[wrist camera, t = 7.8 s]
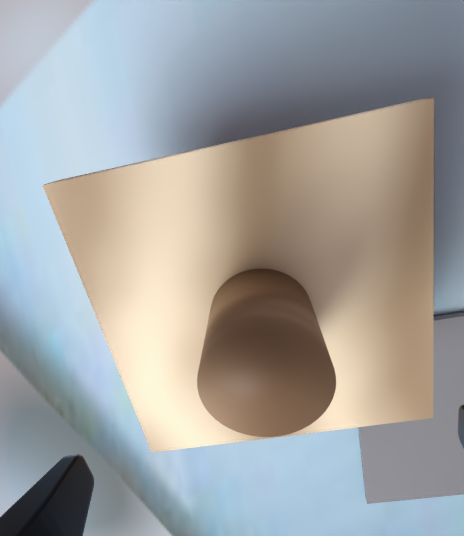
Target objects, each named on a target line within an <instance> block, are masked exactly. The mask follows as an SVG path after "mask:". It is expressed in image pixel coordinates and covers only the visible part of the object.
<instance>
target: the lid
mask: <svg viewBox="0 0 464 536" xmlns="http://www.w3.org/2000/svg"><path fill="white" fill-rule="evenodd" d="M43 187H44V190H45V192H46V195H47V197H48V200H49V202H50V205H51V207H52V209H53V212H54V214H55V217H56V219H57V222H58V224H59V226H60V229H61V231H62V234H63V236H64V239H65V241H66V244H67V246H68V248H69V251H70V253H71V256H72V258H73V261H74V263H75V266H76V268H77V270H78V273H79V275H80V278H81V280H82V283H83V285H84V287H85V290H86V292H87V295H88V297H89V300H90V302H91V305H92V307H93V309H94V312H95V314H96V317H97V319H98V322H99V324H100V326H101V329H102V331H103V334H104V336H105V339H106V341H107V344H108V346H109V348H110V351H111V353H112V356H113V358H114V361H115V363H116V366H117V368H118V370H119V373H120V375H121V378H122V380H123V383H124V385H125V387H126V390H127V392H128V395H129V397H130V400H131V402H132V405H133V407H134V409H135V412H136V414H137V417H138V419H139V422H140V424H141V427H142V429H143V431H144V434H145V436H146V439H147V441H148V444H149V446H150V448H151V451H152V452H160V451H168V450H176V449H184V448H192V447H200V446H209V445H217V444H225V443H233V442H241V441H250V440H258V439H266V438H274V437H282V436H290V435H299V434H307V433H315V432H323V431H331V430H339V429H348V428H356V427H364V426H372V425H380V424H389V423H397V422H405V421H413V420H421V419H429V418H433V310H434V98H427V99H419V100H415V101H410V102H406V103H401V104H397V105H392V106H388V107H383V108H379V109H374V110H370V111H366V112H361V113H357V114H352V115H348V116H343V117H339V118H334V119H330V120H325V121H321V122H316V123H312V124H308V125H303V126H299V127H294V128H290V129H285V130H281V131H276V132H272V133H267V134H263V135H259V136H254V137H250V138H245V139H241V140H236V141H232V142H227V143H223V144H218V145H214V146H209V147H205V148H201V149H196V150H192V151H187V152H183V153H178V154H174V155H169V156H165V157H160V158H156V159H151V160H147V161H143V162H138V163H134V164H129V165H125V166H120V167H116V168H111V169H107V170H102V171H98V172H93V173H89V174H85V175H80V176H76V177H71V178H67V179H62V180H58V181H54V182H51V183H48V184H45V185H43Z"/></svg>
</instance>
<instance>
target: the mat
mask: <svg viewBox="0 0 464 536" xmlns="http://www.w3.org/2000/svg"><path fill="white" fill-rule="evenodd" d="M461 405H464V312H460V313H453V314H447V315H441V316H434V317H433V418H429V419H421V420H413V421H405V422H397V423H389V424H380V425H372V426H364V427H358V429H359V439H360V448H361V458H362V467H363V477H364V486H365V496H366V501H367V504H369V503H380V502H390V501H400V500H410V499H420V498H431V497H441V496H451V495H461V494H464V449H463V447H462V445H461V442H460V440H459V436H458V410H459V407H460V406H461Z"/></svg>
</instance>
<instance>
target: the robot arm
mask: <svg viewBox="0 0 464 536" xmlns="http://www.w3.org/2000/svg"><path fill="white" fill-rule="evenodd" d="M458 436H459V440H460V442H461V445H462V447H463V449H464V405H461V406H460V407H459V410H458ZM93 487H94V478H93V475H92V473H91V471H90V469H89V467H88V465H87V463H86V461H85V459H84V457H83V456H82V455H80V454H78V455H69V456H65V457H63V458H62V459H61V460H60V461H59V462H58V463H57V464H56V465H55V466H54V467H52V468H51V469H50V470H49V471H48V472H47V473H46V474H45V475H44V476H43V477H42V478H41V479H40V480H39V481H38V482H37V483H36V484H35V485H34V486H33V487H32V488H30V489H29V490H28V491H27V492H26V493H25V494H24V495H23V496H22V497H21V498H20V499H19V500H18V501H17V502H16V503H15V504H14V505H13V506H12V507H10V508H9V509H8V510H7V511H6V512H5V513H4V514H3V515H2V516H1V517H0V536H83V532H84V527H85V523H86V518H87V514H88V509H89V505H90V501H91V496H92V492H93Z"/></svg>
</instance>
